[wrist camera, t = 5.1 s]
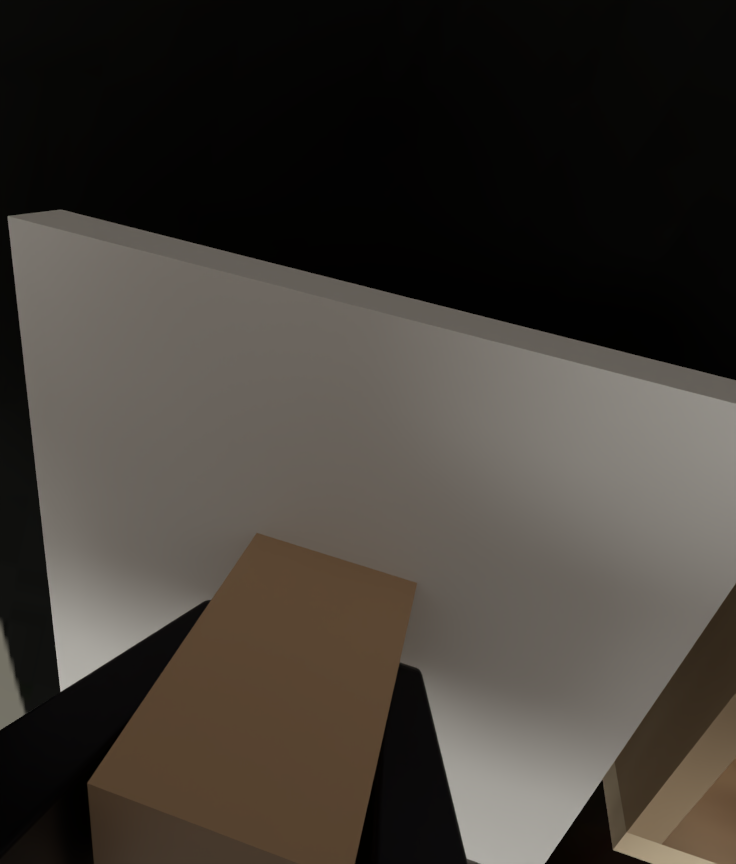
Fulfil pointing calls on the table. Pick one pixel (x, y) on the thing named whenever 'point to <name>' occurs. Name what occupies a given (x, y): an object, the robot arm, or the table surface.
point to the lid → (354, 541)
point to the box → (683, 760)
